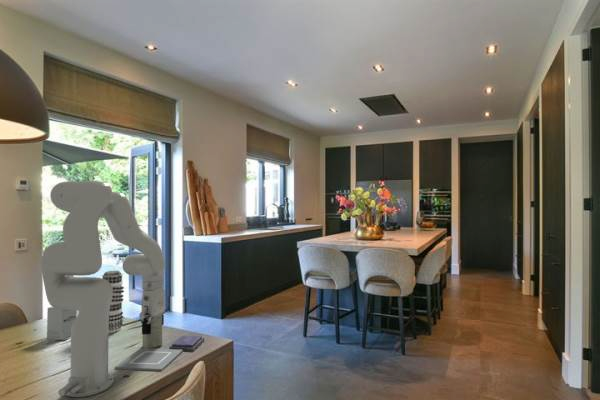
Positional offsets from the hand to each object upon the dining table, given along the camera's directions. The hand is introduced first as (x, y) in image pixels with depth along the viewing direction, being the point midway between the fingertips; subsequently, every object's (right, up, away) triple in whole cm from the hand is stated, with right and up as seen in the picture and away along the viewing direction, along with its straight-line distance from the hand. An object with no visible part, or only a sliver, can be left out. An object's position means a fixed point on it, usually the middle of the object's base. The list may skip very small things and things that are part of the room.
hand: (153, 329), depth 137 cm
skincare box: (0, -6, -1) cm, 6 cm away
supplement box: (-41, -7, +10) cm, 43 cm away
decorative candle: (-25, -7, +18) cm, 32 cm away
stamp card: (+5, -6, -13) cm, 15 cm away
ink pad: (+13, -6, 0) cm, 14 cm away
